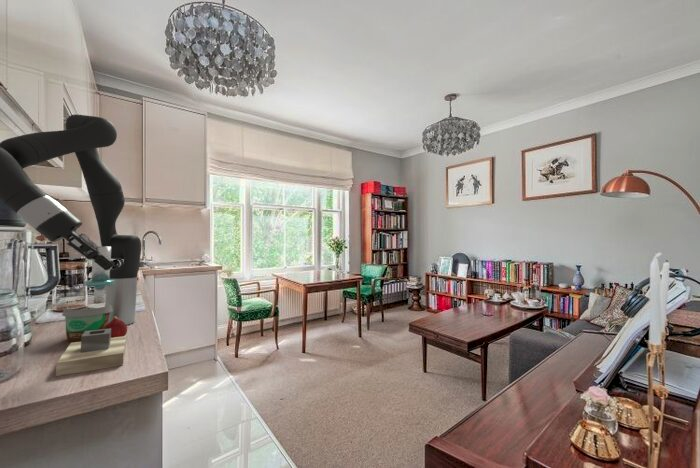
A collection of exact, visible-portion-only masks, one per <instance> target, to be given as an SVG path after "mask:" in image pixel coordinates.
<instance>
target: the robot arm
mask: <svg viewBox="0 0 700 468" xmlns="http://www.w3.org/2000/svg"><path fill="white" fill-rule="evenodd" d="M117 137H118V132H117V129H116V127H115V125H114V124H113V123H112V121H110V120H108V119H106V118H104V117H100V116H94V115H84V114H76V113H75V114H71V115H69V116H68V117H67V119H66V121H65V129H63V130H52V131H51V130H50V131H40V132H39V131H38V132H31V133H28V134H22V135H18V136H15V137H11V138H6V139H4V140H2V141H0V202H1V203H2V204H4V205H5V206H7V208H9V209H11V210H12V212H14V213H16V214H17V216H19V217H20V218H21V219H22V220H23V222H25V223H26V224H28V225H29V226H30V227H31V228H33V229H34V230H35V231H36V232H38V233H39V234H40V235H42V236H43V238H44V237H45V238H46V239H47V240H48V241H49V242H51V243H57V242H58V241H60V240H62V239H65V240H66V241H67V243H66V245H67V246H68V247H70V248H71V249H74V250H75V251H76V252H77V253H79V254H80V255H81V256H84V257H85V258H86V260H90V261H92V262H93V261H94V260H95V261H94V262H96V263H97V264H98V265H99V266H101V267H102V268H103V269H104V270H109V269H110V277H109V279H112V280H115V284H113V285H106V287H105V302H104V307H106V306H109V305H111V307H112V310H113V311H112V312H110V315H109V320H108V323H109V322H111V321H112V320H113V319H114V317H115V316H116V317H117V318H118V319H120V320H122V321H123V322H124V323H125V324H126V326H127V325H131V324H134V323H135V321H136V320H135V319H136V309H137V308H136V306H137V292H138V289H137V288H138V273H139V270H140V264H141V263H140V261H141V255H142V241H141V239H140V237H139V236H137V235H133V234H132V235H131V234H129V235H128V234H127V235H126V234H118V232H117V228H116V222H117V220H118V218H119V216H120V214H121V212H122V211H123V208H124V206H125V201H126V200H125V196H124V192H123V189H122V188H123V187H122V184H121V182H120V181H119V180H118V178H117V177H116V176H115V175H114V173H113V172H112V171H111V170H110V169H109V167H107V165H106V164H105V163H104V162H103V160H102V158H101V157H100V153H99V151H98V148H99V149H100V148H108V147H111V146H112V145H114V143H116V140H117ZM69 154H75V156H76V159H77V162H78V163H79V167H80V169H81V172H82V175H83V178H84V181H85V184H86V185H85V186H86V190H87V194H88V197H89V199H90V203H91V205H92V208H93V213H94V215H95V219H96V223H97V227H98V228H97V229H98V233H99V239H100V245H101V246H103V247H111V261H109V260H108V259H107V258H106V257H104V256H103V255H102V254H101V252H99V251H98V250H97V249H96V246H98V245H97V243H95V242H94V241H93V240H91V239H90V237H89V236H88V235H86V234H85V233H83V232H82V233H79V232H78V231H77V229H80V228H81V226H82V225H83V222H82V220H80V219H79V218H78V217H77V216H75V215H74V214H72V212H71V211H70V210H68V209H67V208H66V207H64V206H63V205H62V204H61V203H60V202H59V201H57V200H56V199H54V197H51V196H50V195H49V194H47V193H46V191H44V190H43V189H41V188H40V187H39V186H38V185H36V184H35V183H34V182H33V181H32V180H31V178H30V177H29V175H28V174H27V172H26V171H25V170H24V169H25V168H27V167H32V166H35V165H38V164H41V163H43V162H46V161H49V160H52V159H56V158H59V157H62V156H65V155H69ZM101 255H102V256H101ZM113 260H123V262H122V264H121V265H119V266H117V267H115V265H116V262H114V261H113ZM112 267H114V268H112Z"/></svg>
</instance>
